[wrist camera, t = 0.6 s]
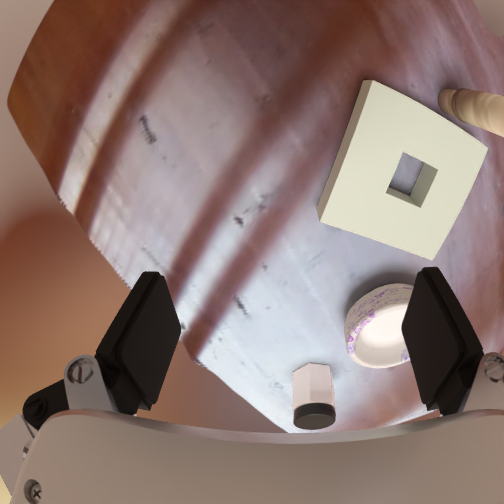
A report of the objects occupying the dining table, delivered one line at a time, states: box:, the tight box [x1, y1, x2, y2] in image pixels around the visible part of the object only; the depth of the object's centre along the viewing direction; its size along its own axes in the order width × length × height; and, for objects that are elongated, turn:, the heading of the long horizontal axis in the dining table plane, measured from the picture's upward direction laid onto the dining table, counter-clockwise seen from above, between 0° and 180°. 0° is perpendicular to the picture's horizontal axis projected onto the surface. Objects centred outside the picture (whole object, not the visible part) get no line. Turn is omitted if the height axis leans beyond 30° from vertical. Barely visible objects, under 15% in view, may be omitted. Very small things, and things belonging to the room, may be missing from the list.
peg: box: [438, 88, 504, 137], centre depth 22 cm, size 4×4×12 cm
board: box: [317, 80, 488, 260], centre depth 32 cm, size 18×18×4 cm
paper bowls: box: [344, 283, 414, 368], centre depth 42 cm, size 15×15×8 cm
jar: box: [292, 363, 336, 430], centre depth 52 cm, size 9×8×12 cm
